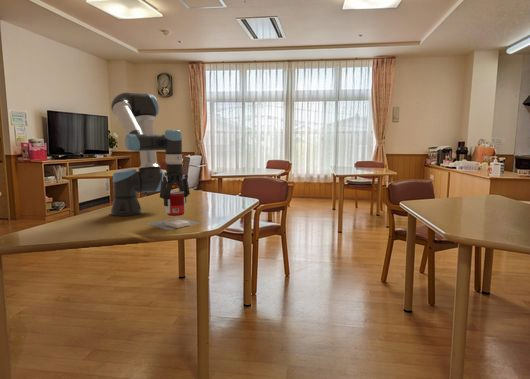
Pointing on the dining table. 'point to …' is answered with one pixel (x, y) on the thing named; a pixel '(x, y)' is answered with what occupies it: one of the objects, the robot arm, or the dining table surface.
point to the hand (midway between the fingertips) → (175, 211)
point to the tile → (177, 223)
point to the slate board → (162, 225)
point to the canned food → (176, 203)
